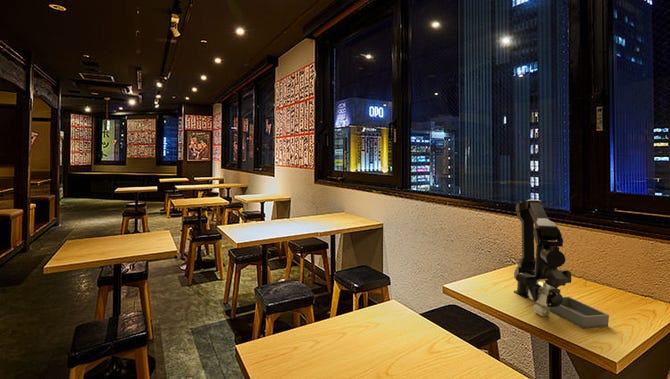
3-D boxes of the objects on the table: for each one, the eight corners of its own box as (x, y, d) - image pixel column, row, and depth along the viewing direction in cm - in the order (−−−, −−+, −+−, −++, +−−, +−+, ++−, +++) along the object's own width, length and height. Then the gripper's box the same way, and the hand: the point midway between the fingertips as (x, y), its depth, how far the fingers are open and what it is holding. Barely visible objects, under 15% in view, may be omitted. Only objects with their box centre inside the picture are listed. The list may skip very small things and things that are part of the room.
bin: (545, 308, 131) (545, 298, 131) (567, 306, 133) (568, 296, 132) (582, 328, 115) (583, 317, 115) (608, 326, 117) (609, 315, 117)
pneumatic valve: (532, 307, 132) (536, 276, 131) (560, 321, 120) (564, 288, 120) (521, 308, 130) (524, 277, 129) (548, 322, 119) (552, 288, 118)
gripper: (539, 267, 114) (536, 312, 115) (586, 264, 117) (583, 308, 119) (516, 257, 125) (513, 298, 126) (559, 255, 128) (557, 295, 130)
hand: (542, 300), depth 125 cm, fingers closed on pneumatic valve, 5 cm apart
